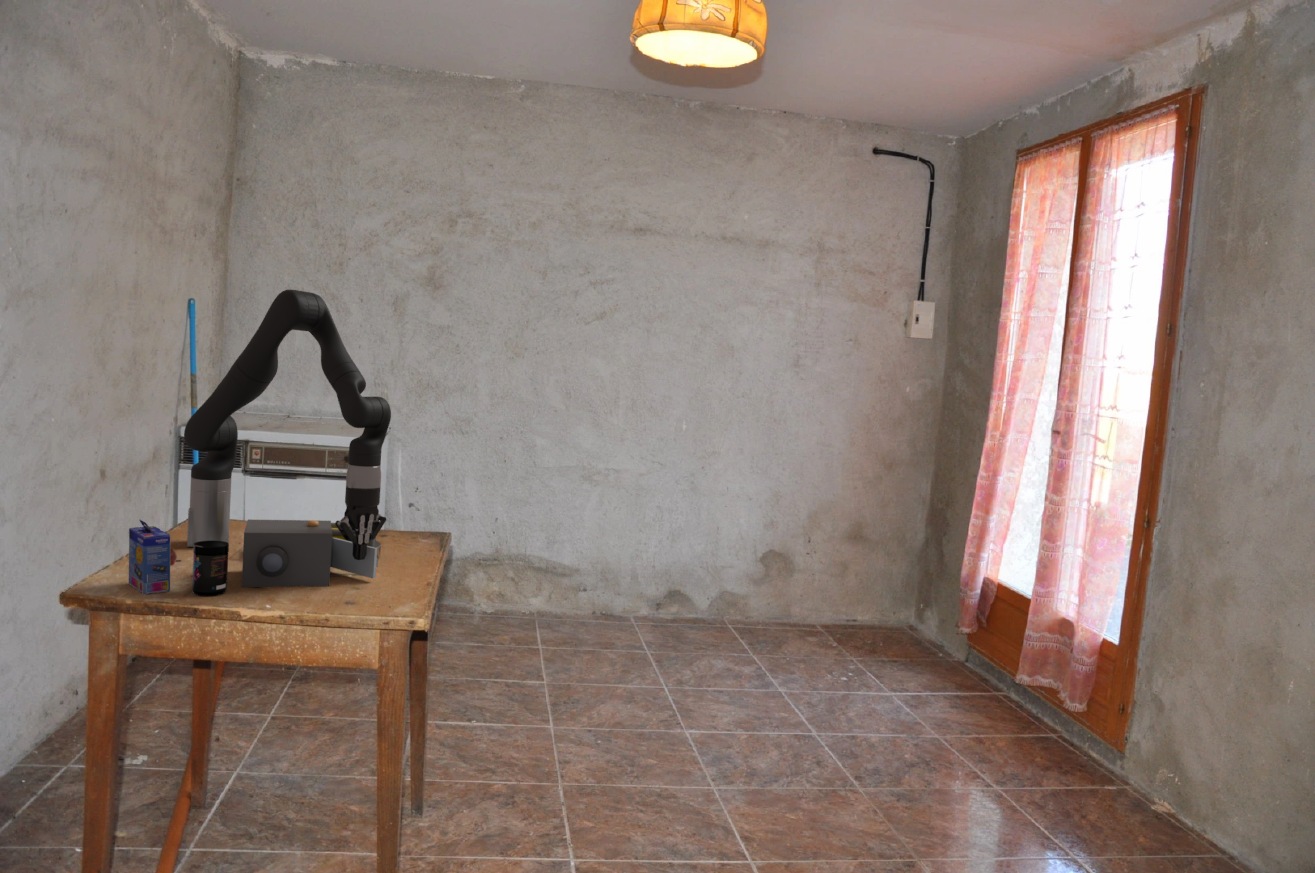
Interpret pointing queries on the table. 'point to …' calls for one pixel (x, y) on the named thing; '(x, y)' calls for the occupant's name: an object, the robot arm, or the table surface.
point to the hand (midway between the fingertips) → (359, 559)
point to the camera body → (286, 553)
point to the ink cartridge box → (149, 559)
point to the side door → (346, 561)
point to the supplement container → (210, 568)
